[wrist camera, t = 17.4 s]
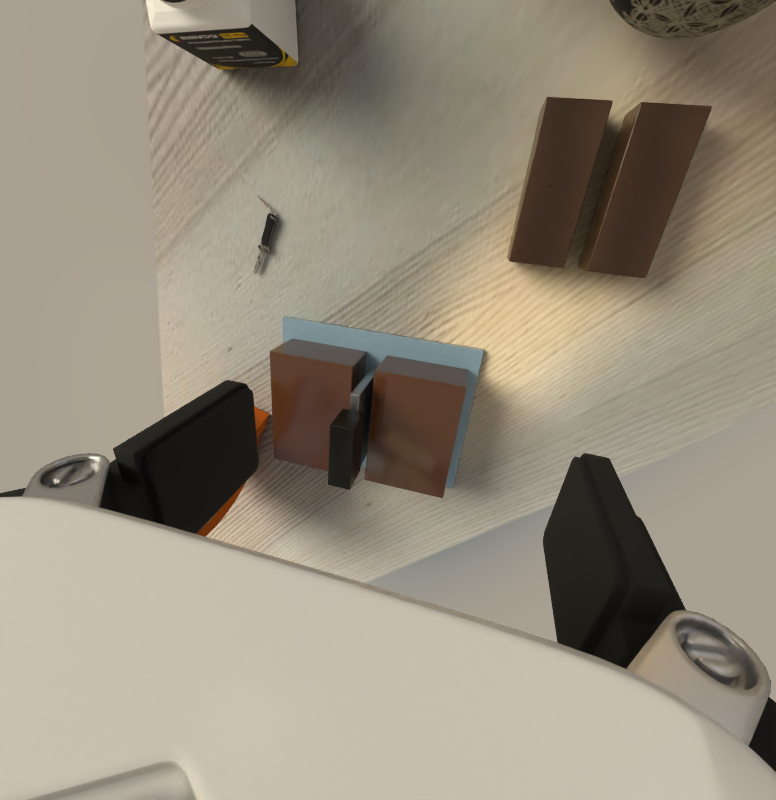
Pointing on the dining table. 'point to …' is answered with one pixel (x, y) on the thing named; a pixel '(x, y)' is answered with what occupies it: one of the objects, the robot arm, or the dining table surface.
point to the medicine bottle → (230, 30)
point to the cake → (374, 400)
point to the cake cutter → (351, 435)
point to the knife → (265, 237)
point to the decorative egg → (685, 15)
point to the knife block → (623, 188)
